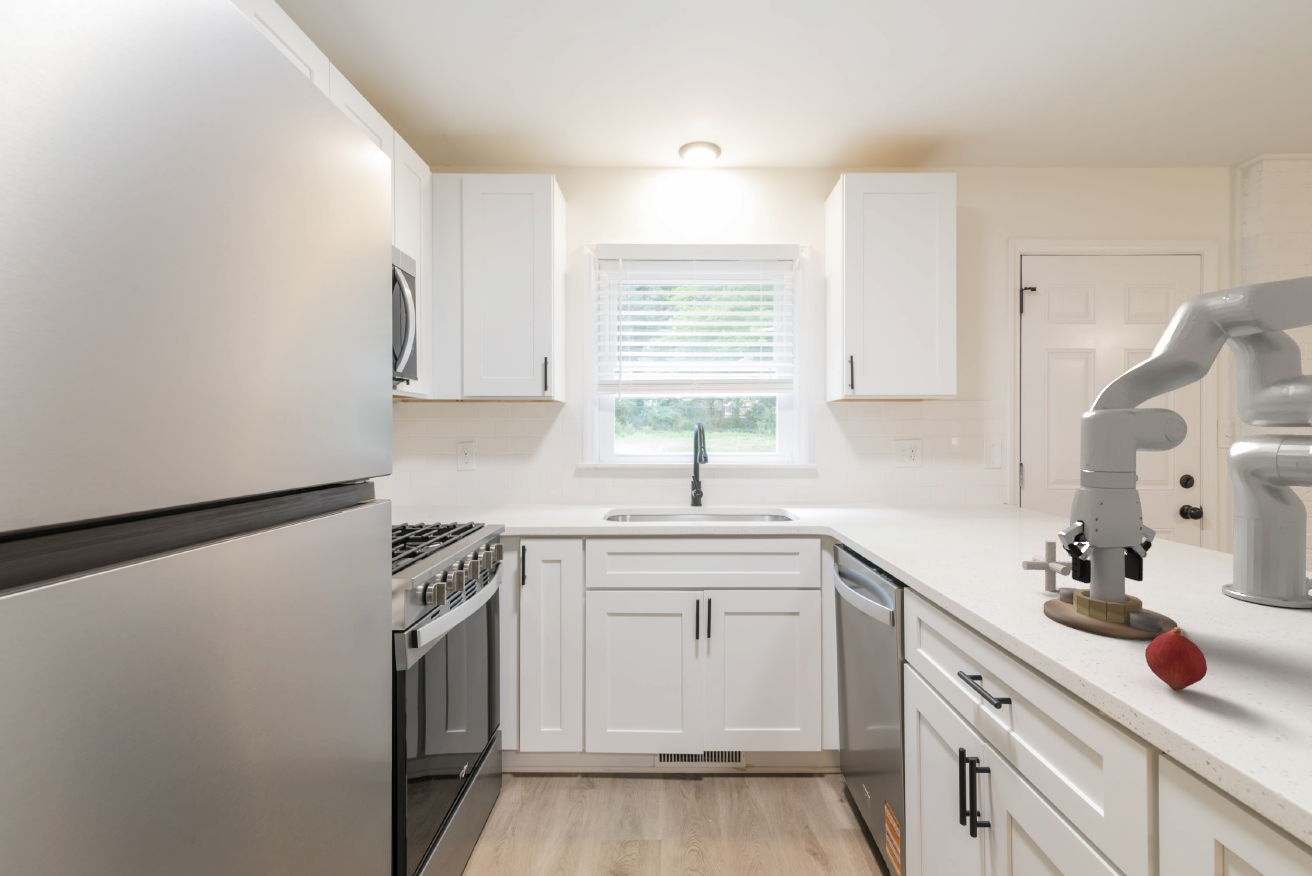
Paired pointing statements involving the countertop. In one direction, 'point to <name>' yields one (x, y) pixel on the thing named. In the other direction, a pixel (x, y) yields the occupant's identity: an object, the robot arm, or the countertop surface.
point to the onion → (1176, 659)
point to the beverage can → (1108, 575)
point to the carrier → (1107, 616)
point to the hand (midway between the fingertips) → (1106, 580)
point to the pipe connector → (1049, 565)
